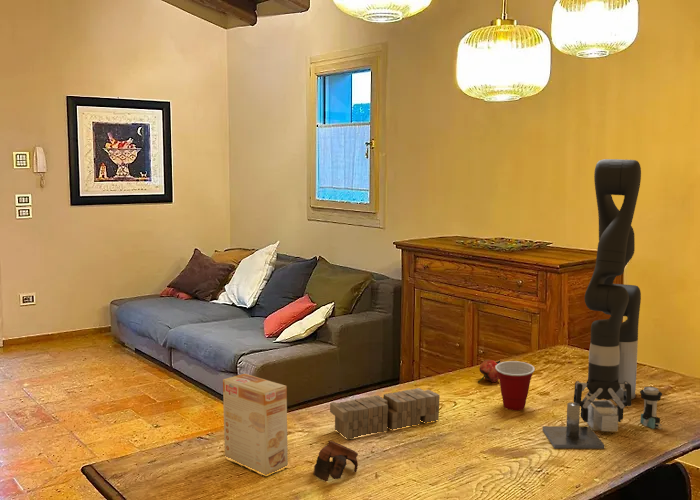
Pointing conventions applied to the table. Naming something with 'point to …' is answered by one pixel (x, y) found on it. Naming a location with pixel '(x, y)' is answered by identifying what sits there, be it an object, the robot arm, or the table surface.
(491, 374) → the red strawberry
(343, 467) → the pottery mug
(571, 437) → the gray square plate
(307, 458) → the table surface
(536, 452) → the table surface
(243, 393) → the coffeecake box
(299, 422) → the table surface
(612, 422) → the grey hollow block
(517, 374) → the plastic cup
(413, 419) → the block tower
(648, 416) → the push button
